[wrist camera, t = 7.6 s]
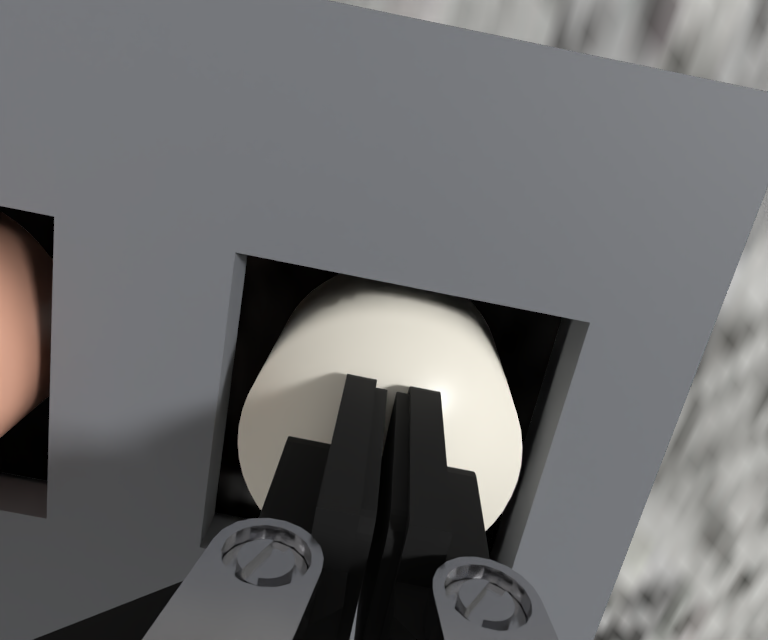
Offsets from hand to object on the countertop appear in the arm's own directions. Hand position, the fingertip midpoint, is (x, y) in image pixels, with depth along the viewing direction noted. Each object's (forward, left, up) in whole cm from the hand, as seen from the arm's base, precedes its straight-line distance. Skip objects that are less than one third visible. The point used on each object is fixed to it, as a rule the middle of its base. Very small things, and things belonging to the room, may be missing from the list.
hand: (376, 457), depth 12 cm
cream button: (0, 0, -3) cm, 4 cm away
